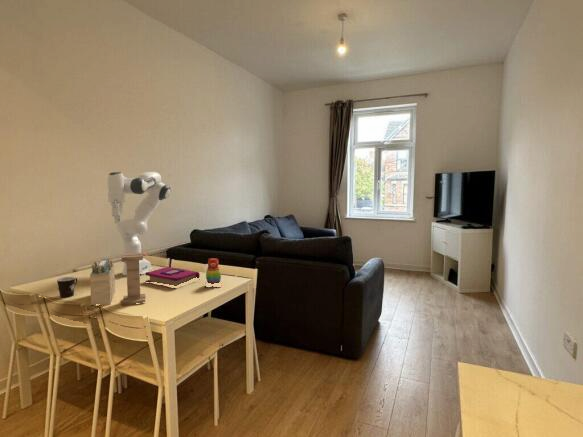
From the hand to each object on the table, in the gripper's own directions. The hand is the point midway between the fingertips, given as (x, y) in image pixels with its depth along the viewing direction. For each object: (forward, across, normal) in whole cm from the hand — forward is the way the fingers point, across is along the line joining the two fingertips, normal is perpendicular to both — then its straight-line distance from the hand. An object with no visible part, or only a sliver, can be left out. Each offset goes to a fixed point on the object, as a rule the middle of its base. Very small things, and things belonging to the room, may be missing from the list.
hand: (117, 222), depth 201 cm
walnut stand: (+41, -26, -9) cm, 50 cm away
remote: (+24, -13, +7) cm, 28 cm away
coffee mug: (+41, -3, +26) cm, 49 cm away
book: (+42, +6, -31) cm, 52 cm away
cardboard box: (+41, -16, +7) cm, 44 cm away
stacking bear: (+41, -11, -55) cm, 69 cm away
